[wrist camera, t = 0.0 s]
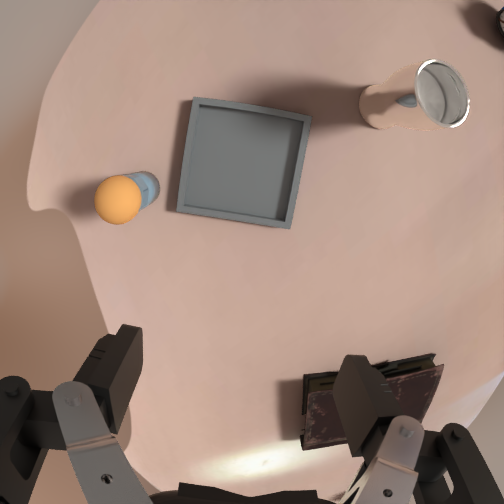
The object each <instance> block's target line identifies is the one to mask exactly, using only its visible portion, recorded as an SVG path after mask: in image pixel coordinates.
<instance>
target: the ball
mask: <svg viewBox="0 0 504 504" xmlns="http://www.w3.org/2000/svg"><path fill="white" fill-rule="evenodd" d="M141 199H142V198H141V192H140V189H139V187H138V186H137V184H136V183H135V182H134V181H133V180H132V179H130V178H128V177H125V176H121V175H117V176H112V177H109V178H107V179H106V180H104V181H103V182H102V183H101V184H100V185H99V187H98V189H97V190H96V193H95V198H94V203H95V208H96V211H97V213H98V215H99V216H100V217H101V218H102V219H103V220H104V221H106V222H108V223H111V224H124V223H126V222H128V221H130V220H131V219H133V218H134V217H135V216H136V214H137V213H138V211H139V209H140V206H141Z"/></svg>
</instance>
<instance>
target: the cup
mask: <svg viewBox="0 0 504 504" xmlns="http://www.w3.org/2000/svg"><path fill="white" fill-rule="evenodd" d="M121 176H125V177H128V178H130V179H132V180H133V181H134V182H135V183H136V184H137V186H138V187H139V189H140V192H141V198H142V199H141V206H140V209H139V211H140V210H142V209H143V208H145V207H146V206H148V205H150V204H151V203H153V202H154V201H155V200H156V199H157V197H158V195H159V192H160V185H159V181H158V179H157V178H156V177H155V176H154V175H153V174H152V173H150V172H146V171H141V172H137V173H134V174H130V175H128V174H125V175H121ZM139 211H138V212H139Z"/></svg>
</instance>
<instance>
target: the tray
mask: <svg viewBox="0 0 504 504" xmlns="http://www.w3.org/2000/svg"><path fill="white" fill-rule="evenodd" d="M311 120H312V116H308V115H303V114H299V113H294V112H289V111H284V110H279V109H274V108H269V107H263V106H257V105H251V104H245V103H239V102H232V101H225V100H217V99H209V98H200V97H193V102H192V108H191V113H190V119H189V125H188V131H187V137H186V143H185V149H184V156H183V163H182V170H181V177H180V185H179V192H178V200H177V209H176V212H183V213H190V214H196V215H203V216H210V217H216V218H223V219H229V220H235V221H242V222H248V223H254V224H260V225H266V226H272V227H278V228H284V229H290V228H291V223H292V218H293V213H294V208H295V204H296V199H297V194H298V189H299V183H300V178H301V173H302V168H303V163H304V158H305V152H306V147H307V142H308V136H309V131H310V125H311Z"/></svg>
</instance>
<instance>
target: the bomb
mask: <svg viewBox="0 0 504 504" xmlns="http://www.w3.org/2000/svg"><path fill="white" fill-rule="evenodd" d="M496 20H497V25H498V28H499V30H500V32H501V34H502V35H503V37H504V7H503V8H502V9H501V10H500V11H498V13H497V16H496Z"/></svg>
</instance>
